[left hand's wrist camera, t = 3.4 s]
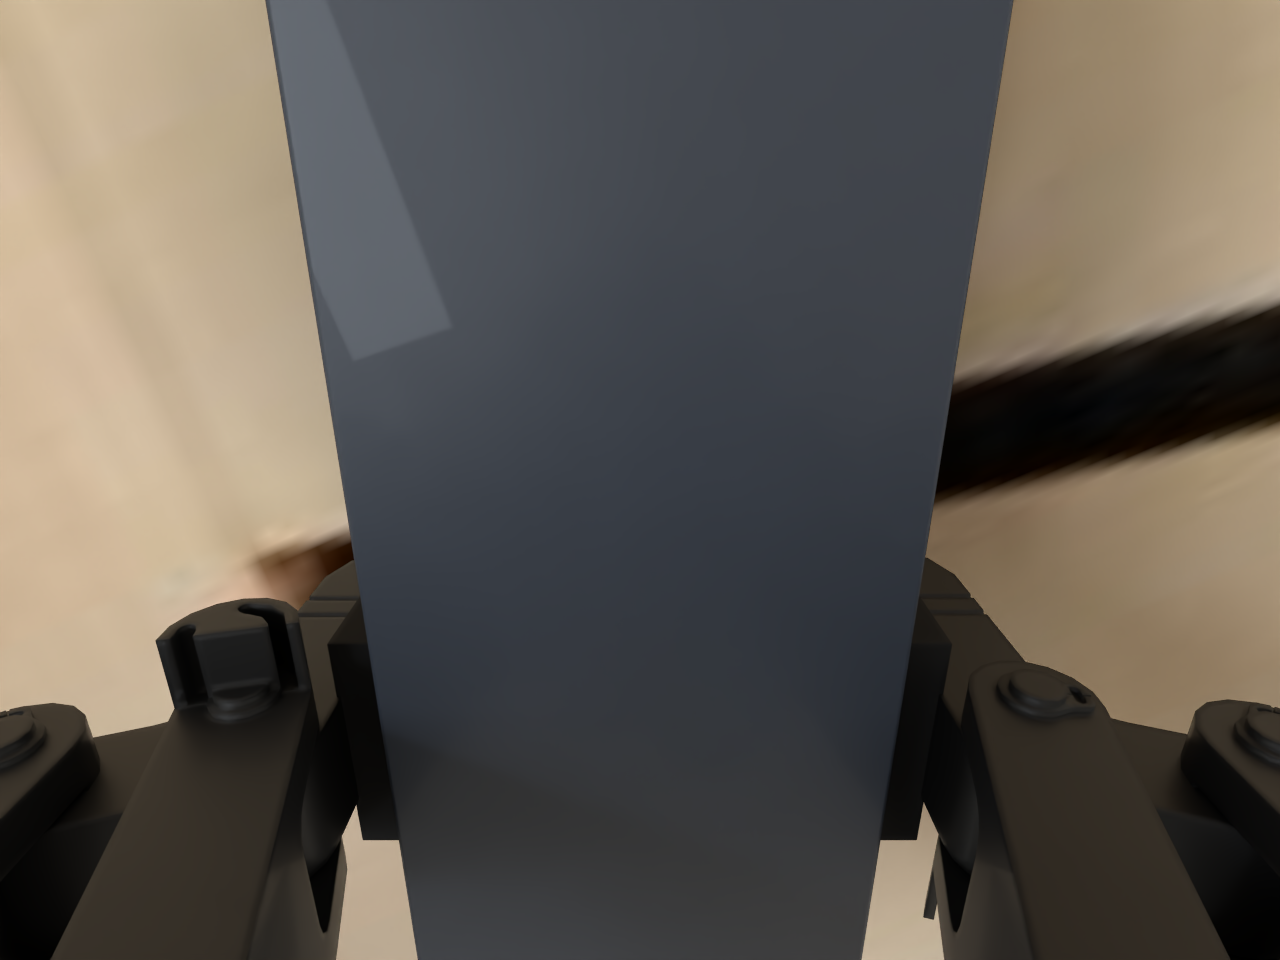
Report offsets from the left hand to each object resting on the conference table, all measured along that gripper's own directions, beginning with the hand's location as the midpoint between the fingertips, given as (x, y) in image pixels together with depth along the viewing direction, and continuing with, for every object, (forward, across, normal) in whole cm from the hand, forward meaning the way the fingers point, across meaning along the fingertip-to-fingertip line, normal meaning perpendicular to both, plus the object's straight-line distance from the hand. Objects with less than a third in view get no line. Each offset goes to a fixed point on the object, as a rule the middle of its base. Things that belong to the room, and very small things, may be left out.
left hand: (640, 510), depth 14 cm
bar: (+1, 0, -12) cm, 12 cm away
